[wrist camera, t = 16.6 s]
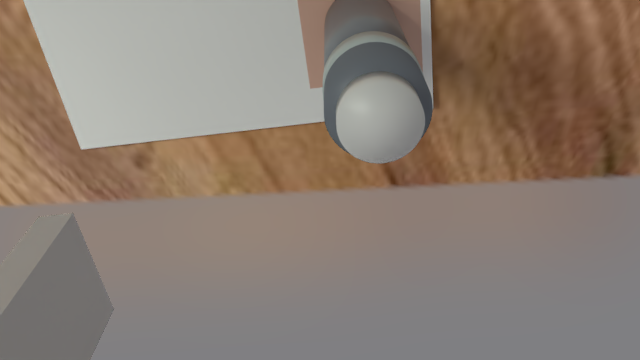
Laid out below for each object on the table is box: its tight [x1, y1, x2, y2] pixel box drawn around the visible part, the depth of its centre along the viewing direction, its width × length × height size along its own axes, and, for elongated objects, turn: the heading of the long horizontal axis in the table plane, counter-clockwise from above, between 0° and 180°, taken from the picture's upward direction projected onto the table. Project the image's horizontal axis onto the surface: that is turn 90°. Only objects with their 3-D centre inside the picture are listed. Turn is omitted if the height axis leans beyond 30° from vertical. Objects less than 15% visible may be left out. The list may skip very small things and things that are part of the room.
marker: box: [322, 0, 433, 163], centre depth 23 cm, size 4×4×12 cm
